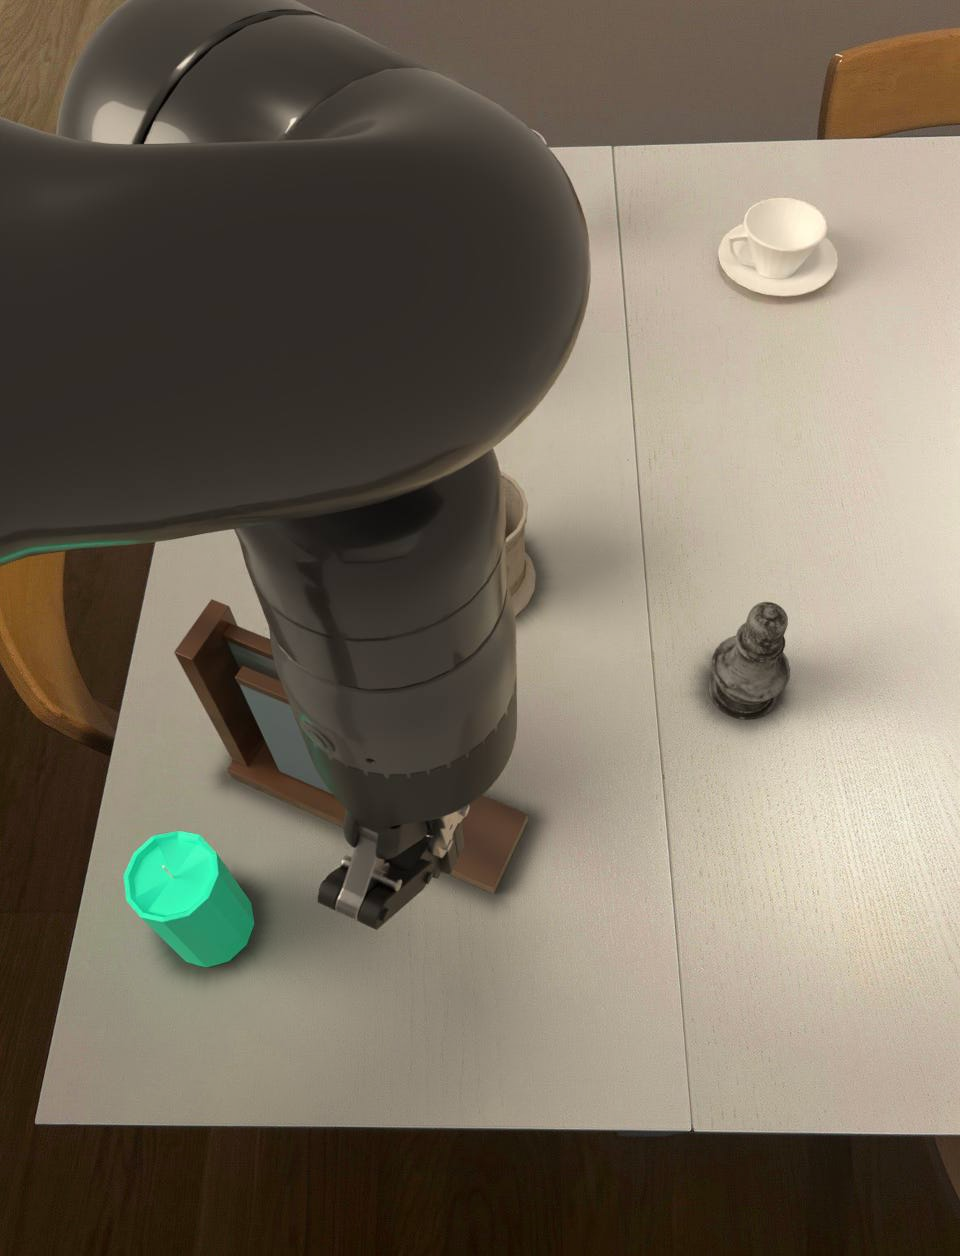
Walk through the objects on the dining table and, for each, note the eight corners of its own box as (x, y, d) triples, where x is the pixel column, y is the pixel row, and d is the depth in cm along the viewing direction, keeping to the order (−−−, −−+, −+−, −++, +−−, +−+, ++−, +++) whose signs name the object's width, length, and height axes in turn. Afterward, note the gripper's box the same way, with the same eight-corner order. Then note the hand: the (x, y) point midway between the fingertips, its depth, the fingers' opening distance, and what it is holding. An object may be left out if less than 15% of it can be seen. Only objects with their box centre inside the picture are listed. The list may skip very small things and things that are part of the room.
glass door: (411, 832, 76) (390, 744, 64) (277, 773, 79) (233, 678, 67) (419, 817, 77) (399, 727, 65) (286, 760, 80) (243, 663, 67)
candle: (249, 966, 73) (205, 914, 63) (163, 968, 73) (105, 916, 63) (258, 882, 76) (218, 819, 66) (176, 883, 77) (123, 820, 66)
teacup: (695, 248, 111) (702, 204, 107) (794, 216, 114) (805, 172, 109) (754, 320, 105) (764, 277, 101) (857, 285, 108) (872, 241, 103)
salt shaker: (698, 712, 83) (722, 630, 72) (712, 649, 85) (737, 562, 75) (774, 731, 81) (810, 651, 71) (786, 667, 84) (822, 581, 74)
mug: (547, 615, 88) (551, 526, 78) (431, 638, 87) (419, 552, 77) (507, 483, 95) (506, 387, 85) (400, 504, 94) (385, 409, 84)
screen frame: (493, 894, 75) (486, 796, 61) (231, 777, 81) (166, 662, 66) (527, 821, 78) (528, 711, 63) (271, 713, 84) (218, 589, 69)
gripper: (411, 893, 30) (447, 1024, 45) (585, 550, 37) (567, 763, 51) (191, 793, 32) (294, 950, 47) (392, 483, 38) (428, 707, 53)
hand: (437, 852), depth 49 cm, fingers closed
